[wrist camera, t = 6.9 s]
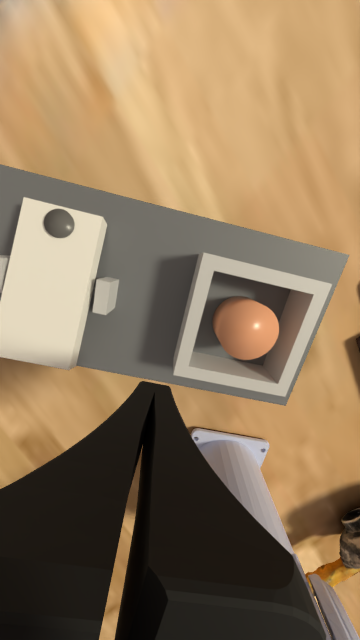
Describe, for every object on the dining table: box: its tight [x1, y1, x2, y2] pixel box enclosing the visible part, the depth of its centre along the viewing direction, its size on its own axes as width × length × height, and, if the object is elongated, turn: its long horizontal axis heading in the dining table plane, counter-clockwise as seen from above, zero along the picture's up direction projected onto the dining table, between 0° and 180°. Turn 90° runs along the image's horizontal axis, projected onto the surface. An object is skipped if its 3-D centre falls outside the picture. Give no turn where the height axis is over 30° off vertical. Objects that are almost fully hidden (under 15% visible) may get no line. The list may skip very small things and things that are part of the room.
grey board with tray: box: [0, 164, 349, 406], centre depth 15 cm, size 12×24×6 cm, turn 77°
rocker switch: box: [0, 197, 107, 370], centre depth 12 cm, size 9×4×1 cm, turn 167°
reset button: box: [212, 296, 279, 360], centre depth 14 cm, size 4×4×2 cm
